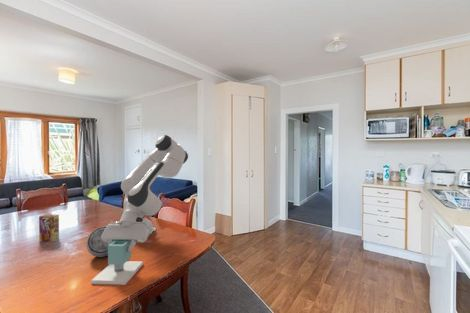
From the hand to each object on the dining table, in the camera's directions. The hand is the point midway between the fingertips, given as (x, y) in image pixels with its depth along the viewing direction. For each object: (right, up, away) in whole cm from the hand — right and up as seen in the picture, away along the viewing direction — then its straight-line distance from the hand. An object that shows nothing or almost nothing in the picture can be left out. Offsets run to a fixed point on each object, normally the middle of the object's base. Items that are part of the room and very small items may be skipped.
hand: (119, 251), depth 97 cm
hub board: (0, -10, +1) cm, 10 cm away
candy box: (-60, -9, +36) cm, 71 cm away
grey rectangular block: (0, -9, +1) cm, 9 cm away
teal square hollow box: (0, -4, +1) cm, 4 cm away
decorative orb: (-17, -10, +18) cm, 26 cm away
